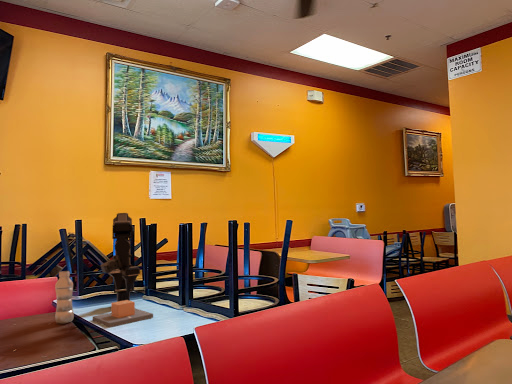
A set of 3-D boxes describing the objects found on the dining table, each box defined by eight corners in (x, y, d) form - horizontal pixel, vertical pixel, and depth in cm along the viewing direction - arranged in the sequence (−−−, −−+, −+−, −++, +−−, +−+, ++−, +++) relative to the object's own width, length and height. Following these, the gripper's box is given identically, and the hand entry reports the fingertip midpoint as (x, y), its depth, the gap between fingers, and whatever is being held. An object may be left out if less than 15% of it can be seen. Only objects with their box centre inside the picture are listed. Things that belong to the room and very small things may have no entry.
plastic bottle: (68, 324, 149) (68, 272, 150) (51, 325, 149) (51, 273, 151) (76, 320, 156) (76, 270, 157) (60, 321, 156) (60, 270, 157)
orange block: (111, 315, 156) (111, 302, 156) (127, 312, 160) (127, 299, 161) (118, 318, 151) (118, 304, 151) (134, 314, 156) (134, 301, 156)
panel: (92, 320, 155) (92, 306, 155) (134, 311, 168) (134, 299, 168) (109, 327, 144) (109, 312, 144) (153, 317, 156) (152, 304, 157)
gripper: (93, 253, 159) (94, 291, 158) (113, 255, 146) (113, 297, 145) (119, 250, 167) (120, 287, 166) (140, 252, 154) (141, 292, 153)
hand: (123, 291), depth 157 cm, fingers open, 9 cm apart
